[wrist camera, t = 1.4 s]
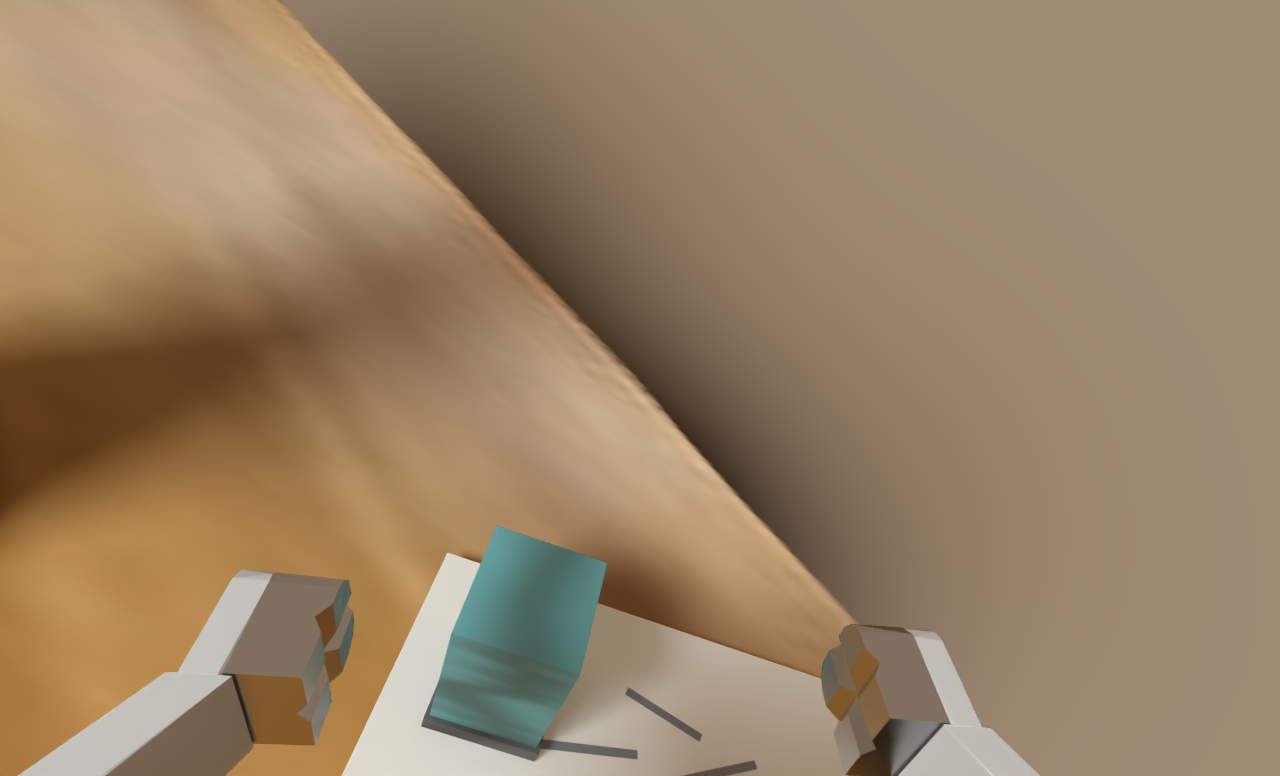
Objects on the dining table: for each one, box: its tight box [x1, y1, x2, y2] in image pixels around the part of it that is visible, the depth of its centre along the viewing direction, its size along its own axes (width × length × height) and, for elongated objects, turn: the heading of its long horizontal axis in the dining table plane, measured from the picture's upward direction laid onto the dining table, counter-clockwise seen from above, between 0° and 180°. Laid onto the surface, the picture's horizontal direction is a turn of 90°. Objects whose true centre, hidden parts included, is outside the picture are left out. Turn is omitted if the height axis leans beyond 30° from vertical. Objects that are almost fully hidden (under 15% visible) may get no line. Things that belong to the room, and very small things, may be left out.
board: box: [342, 553, 849, 776], centre depth 33 cm, size 24×12×2 cm, turn 80°
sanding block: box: [421, 526, 607, 761], centre depth 29 cm, size 5×5×9 cm
